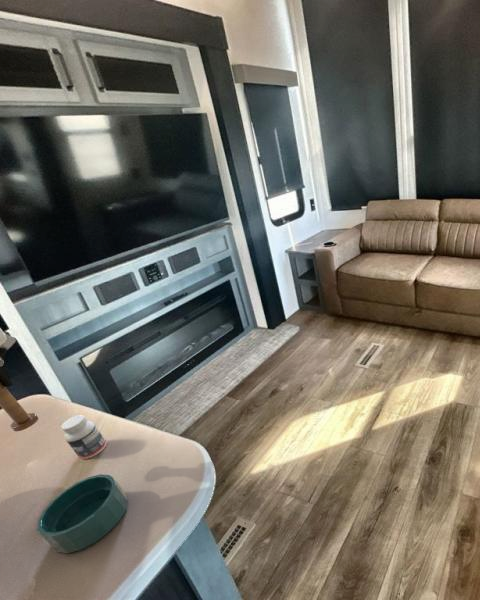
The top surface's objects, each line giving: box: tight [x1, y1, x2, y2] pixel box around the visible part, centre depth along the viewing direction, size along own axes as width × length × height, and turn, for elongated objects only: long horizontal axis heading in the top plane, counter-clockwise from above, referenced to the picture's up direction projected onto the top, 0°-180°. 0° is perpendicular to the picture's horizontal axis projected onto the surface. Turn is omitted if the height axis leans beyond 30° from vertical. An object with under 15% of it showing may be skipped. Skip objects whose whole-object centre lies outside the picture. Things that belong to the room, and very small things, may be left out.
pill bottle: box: [61, 414, 107, 460], centre depth 80 cm, size 5×5×9 cm
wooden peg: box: [0, 381, 39, 432], centre depth 65 cm, size 4×4×14 cm
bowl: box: [36, 473, 129, 554], centre depth 65 cm, size 11×11×6 cm
